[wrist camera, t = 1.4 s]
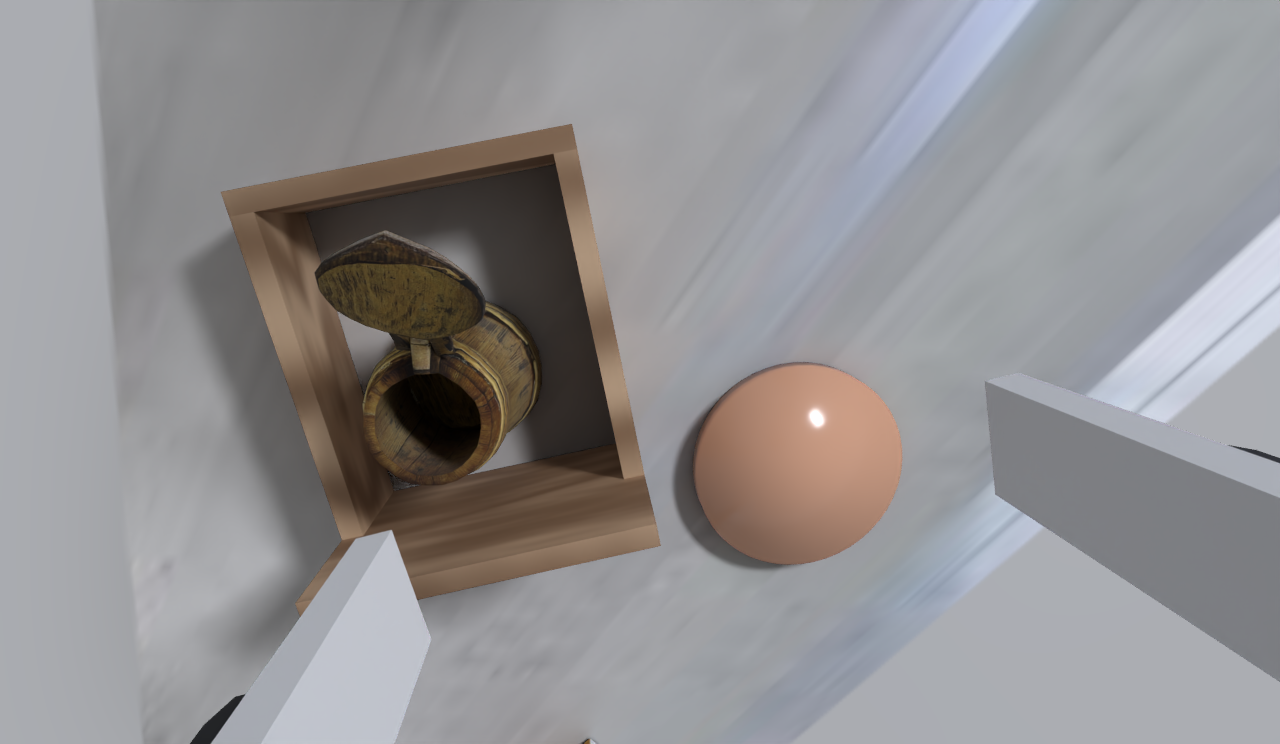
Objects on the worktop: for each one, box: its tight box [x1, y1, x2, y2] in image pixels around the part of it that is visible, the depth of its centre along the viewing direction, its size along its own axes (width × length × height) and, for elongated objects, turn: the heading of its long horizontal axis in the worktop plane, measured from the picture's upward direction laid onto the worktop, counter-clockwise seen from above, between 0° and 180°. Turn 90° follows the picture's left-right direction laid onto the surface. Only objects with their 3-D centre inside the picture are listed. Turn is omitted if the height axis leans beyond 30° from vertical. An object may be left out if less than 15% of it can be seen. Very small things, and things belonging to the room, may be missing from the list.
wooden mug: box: [314, 230, 542, 486], centre depth 31 cm, size 9×14×18 cm, turn 175°
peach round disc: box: [693, 362, 902, 565], centre depth 43 cm, size 14×14×2 cm
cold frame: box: [221, 124, 661, 617], centre depth 34 cm, size 20×17×12 cm
